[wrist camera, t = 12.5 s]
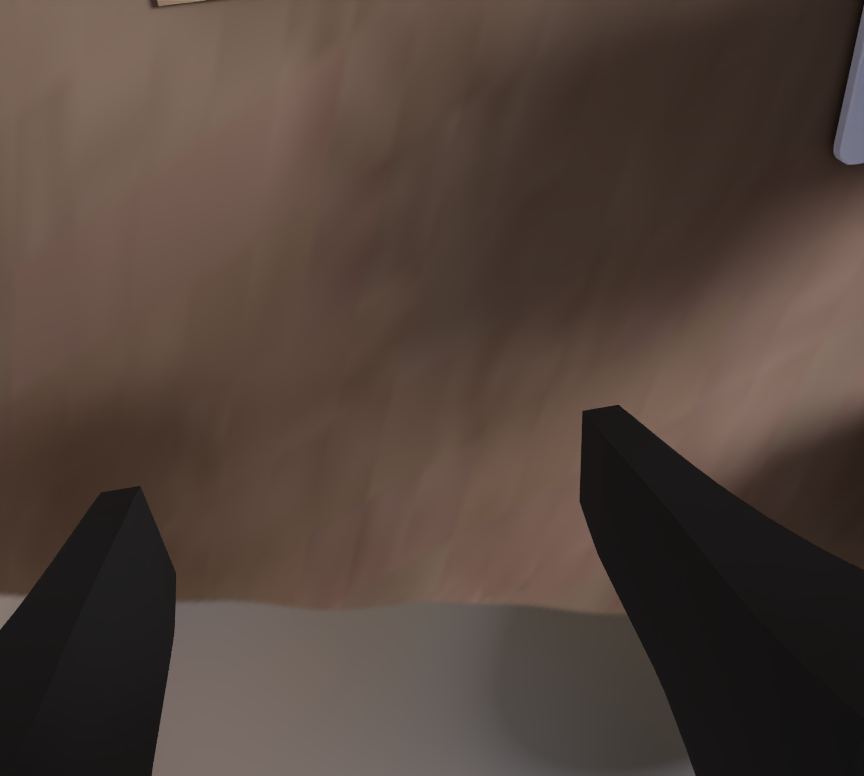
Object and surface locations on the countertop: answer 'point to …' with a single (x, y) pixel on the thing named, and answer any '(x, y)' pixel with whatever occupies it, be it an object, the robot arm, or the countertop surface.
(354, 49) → the countertop surface
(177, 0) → the board
